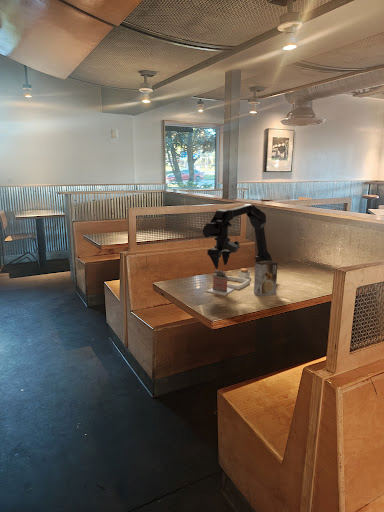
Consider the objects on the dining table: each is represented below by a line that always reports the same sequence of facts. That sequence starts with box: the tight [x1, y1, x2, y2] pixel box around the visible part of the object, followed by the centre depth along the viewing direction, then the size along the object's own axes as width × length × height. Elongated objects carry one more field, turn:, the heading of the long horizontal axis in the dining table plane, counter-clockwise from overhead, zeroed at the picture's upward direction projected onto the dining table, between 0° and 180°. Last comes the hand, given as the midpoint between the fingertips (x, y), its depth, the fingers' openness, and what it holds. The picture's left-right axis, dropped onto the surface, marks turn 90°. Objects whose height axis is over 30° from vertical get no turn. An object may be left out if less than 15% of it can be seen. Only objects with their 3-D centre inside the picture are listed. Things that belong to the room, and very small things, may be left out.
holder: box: [226, 270, 252, 291], centre depth 197 cm, size 14×22×4 cm, turn 147°
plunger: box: [239, 267, 249, 273], centre depth 202 cm, size 4×4×4 cm
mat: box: [206, 287, 235, 296], centre depth 182 cm, size 10×10×1 cm
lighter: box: [212, 269, 228, 292], centre depth 181 cm, size 8×3×10 cm, turn 53°
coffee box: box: [253, 260, 278, 297], centre depth 177 cm, size 9×6×16 cm
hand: (221, 266), depth 179 cm, fingers open, 9 cm apart
